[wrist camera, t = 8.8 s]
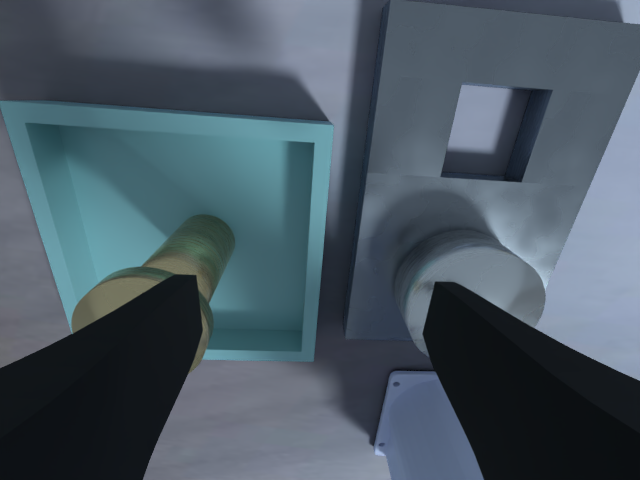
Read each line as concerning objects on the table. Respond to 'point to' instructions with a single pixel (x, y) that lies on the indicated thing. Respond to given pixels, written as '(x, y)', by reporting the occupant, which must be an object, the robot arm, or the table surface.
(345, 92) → the table surface
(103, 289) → the pin
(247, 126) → the tray
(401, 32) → the plate
